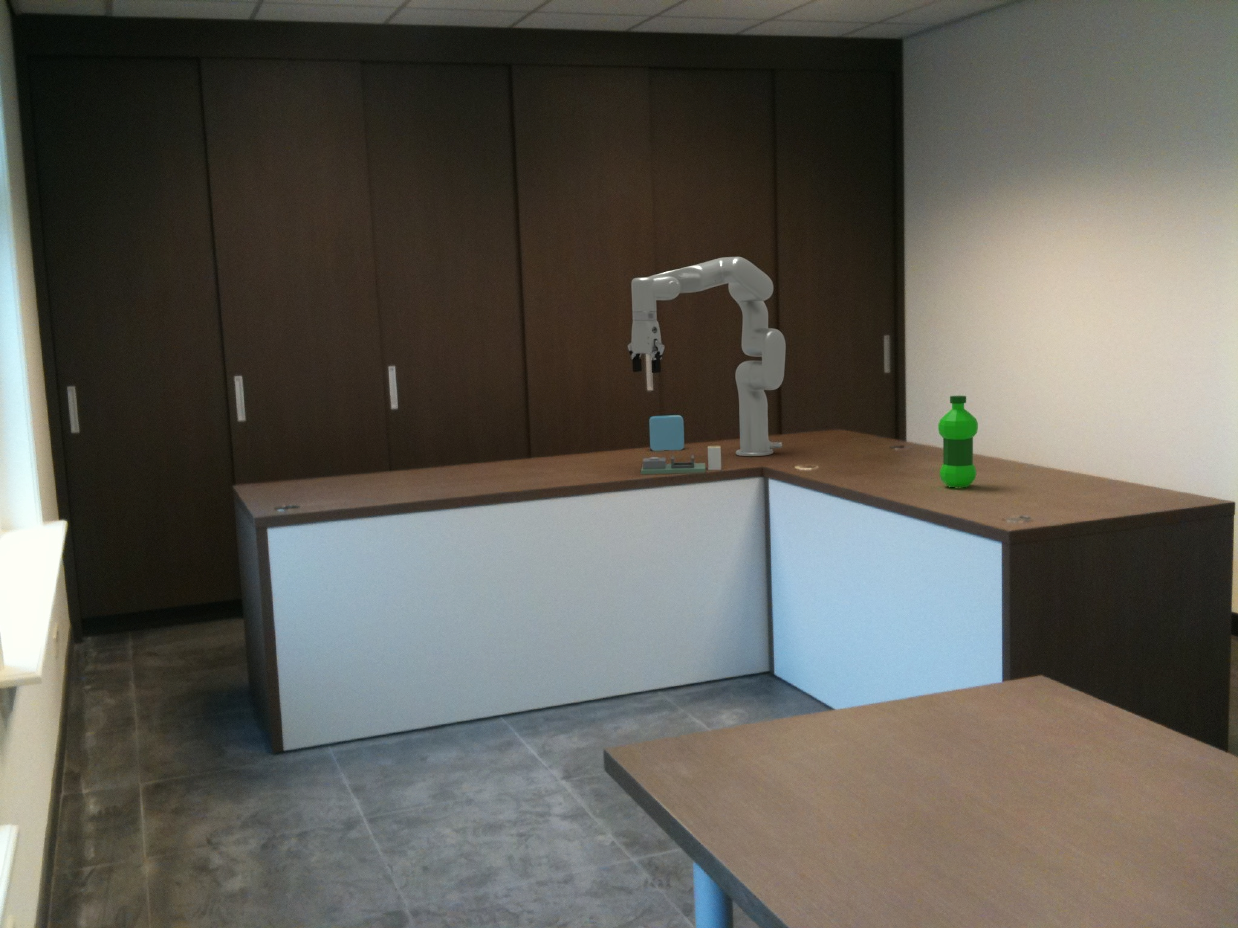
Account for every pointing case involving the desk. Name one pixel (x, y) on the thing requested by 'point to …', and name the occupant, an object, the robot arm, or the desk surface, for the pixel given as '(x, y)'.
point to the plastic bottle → (958, 444)
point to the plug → (714, 457)
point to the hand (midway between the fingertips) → (646, 372)
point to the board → (670, 466)
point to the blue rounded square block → (666, 433)
